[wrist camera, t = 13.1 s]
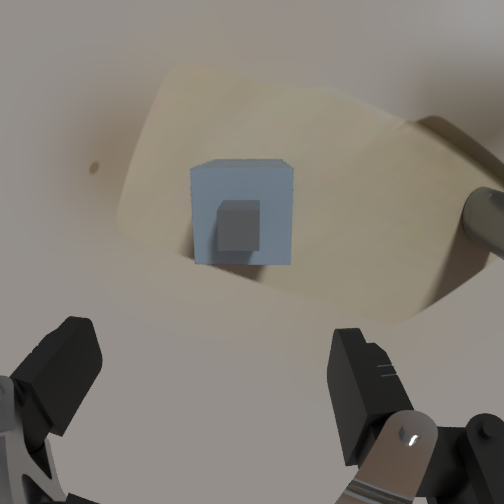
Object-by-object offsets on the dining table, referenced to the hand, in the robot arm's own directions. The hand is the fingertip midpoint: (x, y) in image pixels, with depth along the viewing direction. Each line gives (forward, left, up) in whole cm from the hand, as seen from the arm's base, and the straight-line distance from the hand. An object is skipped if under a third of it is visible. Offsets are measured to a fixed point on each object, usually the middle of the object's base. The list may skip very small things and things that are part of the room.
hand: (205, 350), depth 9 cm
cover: (0, 0, -32) cm, 32 cm away
